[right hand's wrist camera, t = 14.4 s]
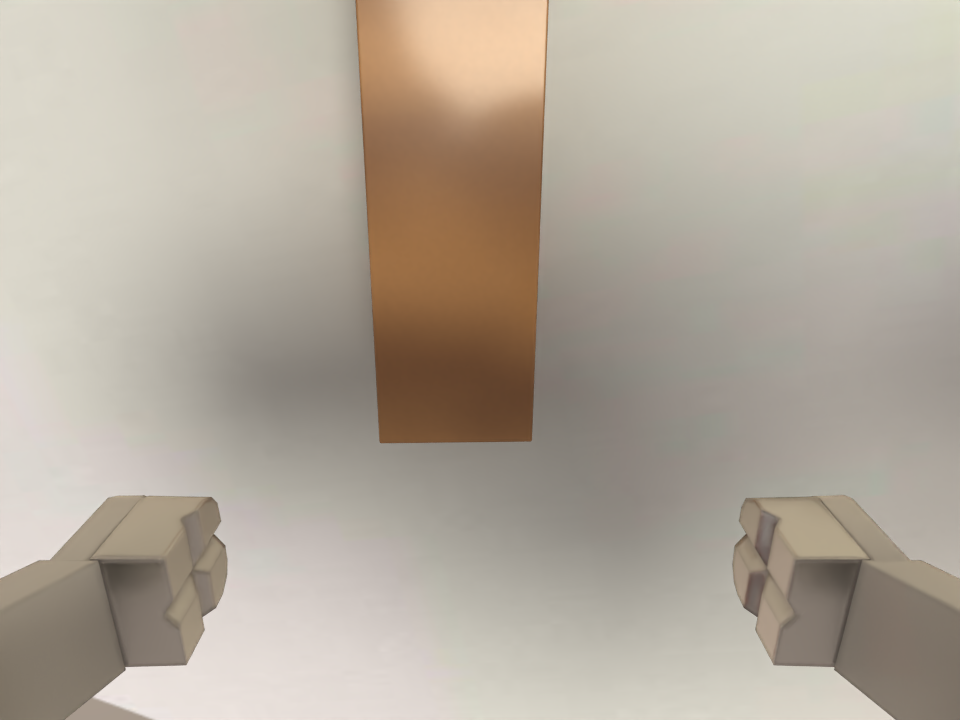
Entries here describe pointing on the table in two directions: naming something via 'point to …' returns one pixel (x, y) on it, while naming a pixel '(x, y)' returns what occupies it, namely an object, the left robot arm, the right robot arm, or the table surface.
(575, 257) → the table surface
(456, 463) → the table surface
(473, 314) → the bar
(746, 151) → the table surface
